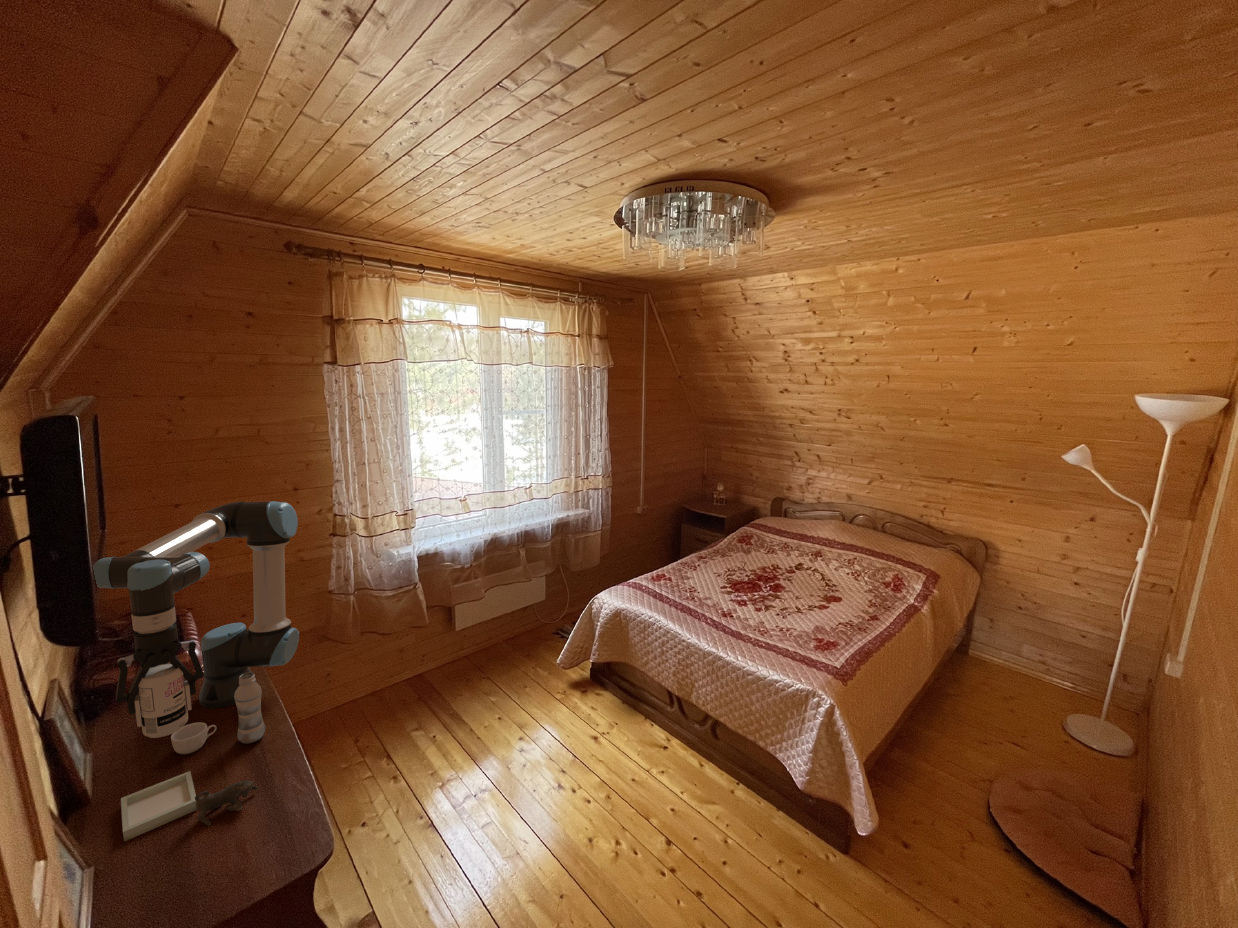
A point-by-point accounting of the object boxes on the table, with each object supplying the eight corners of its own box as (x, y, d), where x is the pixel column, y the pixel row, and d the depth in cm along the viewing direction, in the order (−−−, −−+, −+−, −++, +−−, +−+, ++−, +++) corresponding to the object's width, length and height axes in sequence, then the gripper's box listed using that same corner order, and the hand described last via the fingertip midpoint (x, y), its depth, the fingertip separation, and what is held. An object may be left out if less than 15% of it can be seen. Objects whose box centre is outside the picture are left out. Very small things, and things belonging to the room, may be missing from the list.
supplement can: (150, 722, 125) (144, 665, 123) (193, 714, 128) (187, 658, 126) (136, 743, 118) (129, 683, 115) (181, 734, 121) (176, 676, 119)
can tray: (121, 807, 124) (120, 798, 124) (191, 779, 133) (190, 770, 133) (124, 841, 115) (122, 832, 115) (198, 809, 124) (197, 800, 124)
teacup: (176, 762, 139) (174, 744, 138) (169, 749, 144) (167, 732, 143) (221, 743, 147) (219, 726, 146) (213, 731, 151) (212, 715, 150)
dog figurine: (197, 830, 119) (194, 802, 118) (197, 814, 123) (194, 787, 122) (260, 804, 126) (257, 778, 125) (257, 790, 131) (255, 764, 130)
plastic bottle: (251, 748, 145) (246, 684, 142) (232, 744, 146) (226, 680, 143) (271, 733, 151) (266, 671, 148) (252, 730, 153) (247, 668, 149)
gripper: (91, 648, 109) (103, 744, 112) (214, 618, 124) (222, 704, 128) (90, 635, 114) (102, 727, 118) (209, 608, 129) (216, 691, 133)
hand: (164, 715), depth 123 cm, fingers closed on supplement can, 8 cm apart
